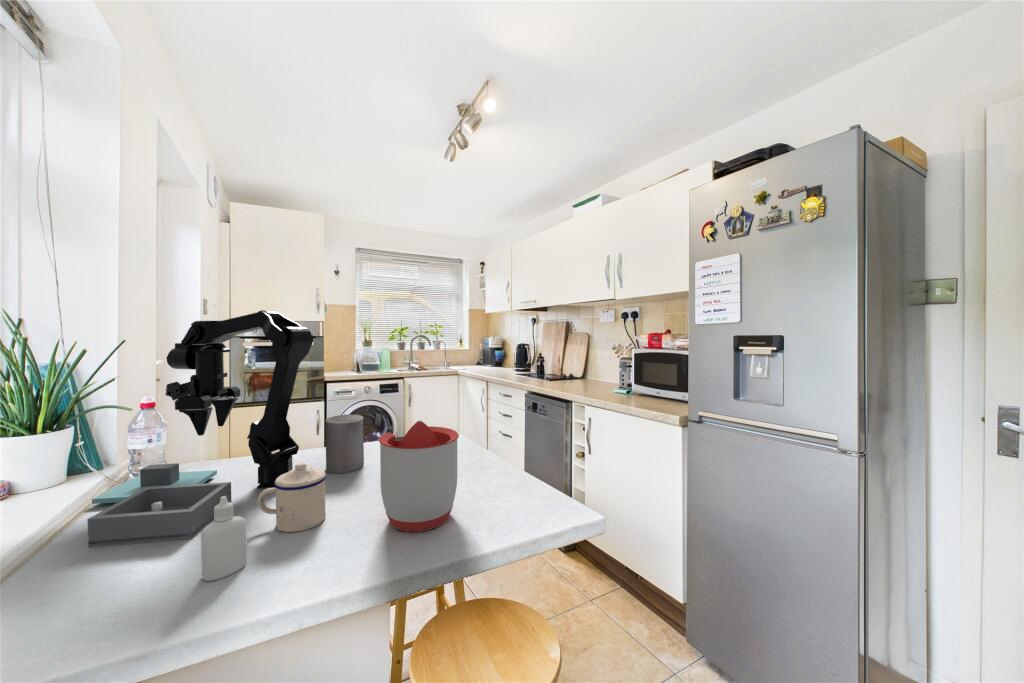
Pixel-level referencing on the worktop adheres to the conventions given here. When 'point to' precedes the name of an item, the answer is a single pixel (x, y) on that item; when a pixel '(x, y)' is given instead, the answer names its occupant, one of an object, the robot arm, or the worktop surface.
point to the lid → (154, 481)
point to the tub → (157, 514)
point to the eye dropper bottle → (223, 543)
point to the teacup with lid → (298, 499)
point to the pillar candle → (344, 443)
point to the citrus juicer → (419, 476)
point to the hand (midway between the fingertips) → (211, 430)
